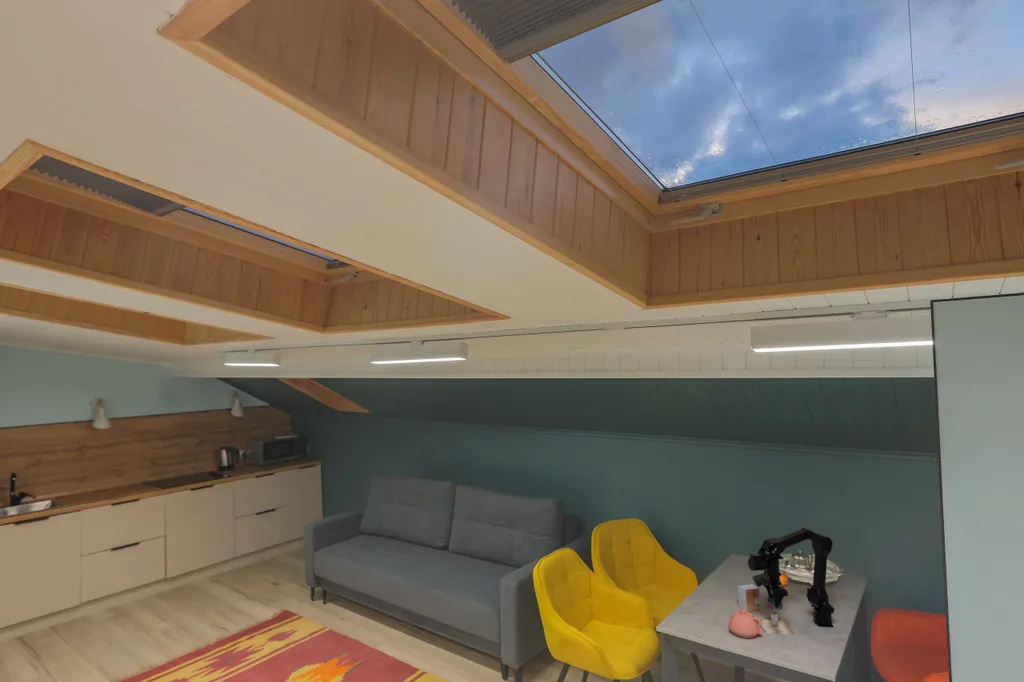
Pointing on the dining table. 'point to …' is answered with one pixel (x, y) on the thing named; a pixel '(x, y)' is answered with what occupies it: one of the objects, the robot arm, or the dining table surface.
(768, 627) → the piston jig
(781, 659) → the dining table surface
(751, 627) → the sugar bowl
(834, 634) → the dining table surface
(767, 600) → the ring
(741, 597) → the small box
